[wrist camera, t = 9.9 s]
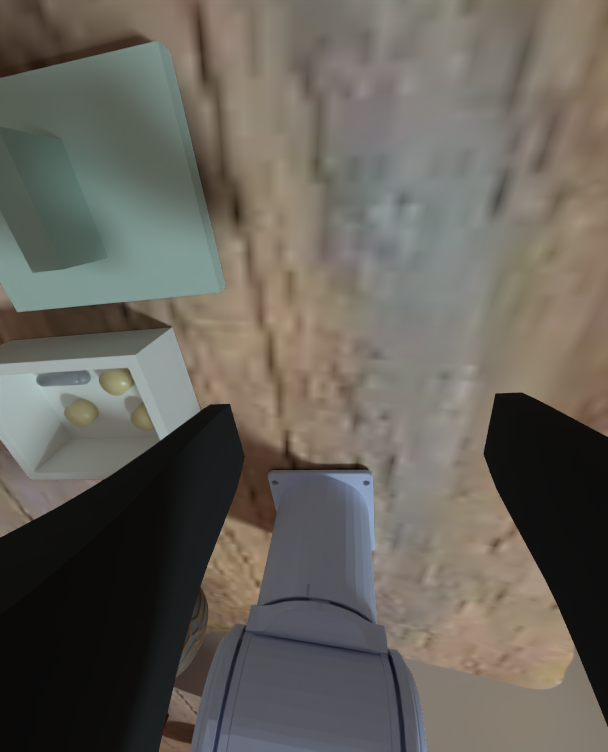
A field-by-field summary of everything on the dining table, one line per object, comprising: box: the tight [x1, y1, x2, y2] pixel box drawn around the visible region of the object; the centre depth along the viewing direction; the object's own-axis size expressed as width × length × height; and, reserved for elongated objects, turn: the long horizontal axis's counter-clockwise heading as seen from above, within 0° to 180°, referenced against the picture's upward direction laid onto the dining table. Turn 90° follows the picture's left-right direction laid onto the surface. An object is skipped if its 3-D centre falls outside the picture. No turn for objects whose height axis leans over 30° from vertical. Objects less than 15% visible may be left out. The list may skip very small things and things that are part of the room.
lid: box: [0, 41, 226, 312], centre depth 15 cm, size 10×13×5 cm
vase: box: [176, 589, 208, 677], centre depth 32 cm, size 7×7×9 cm
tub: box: [0, 327, 201, 480], centre depth 21 cm, size 9×12×4 cm
